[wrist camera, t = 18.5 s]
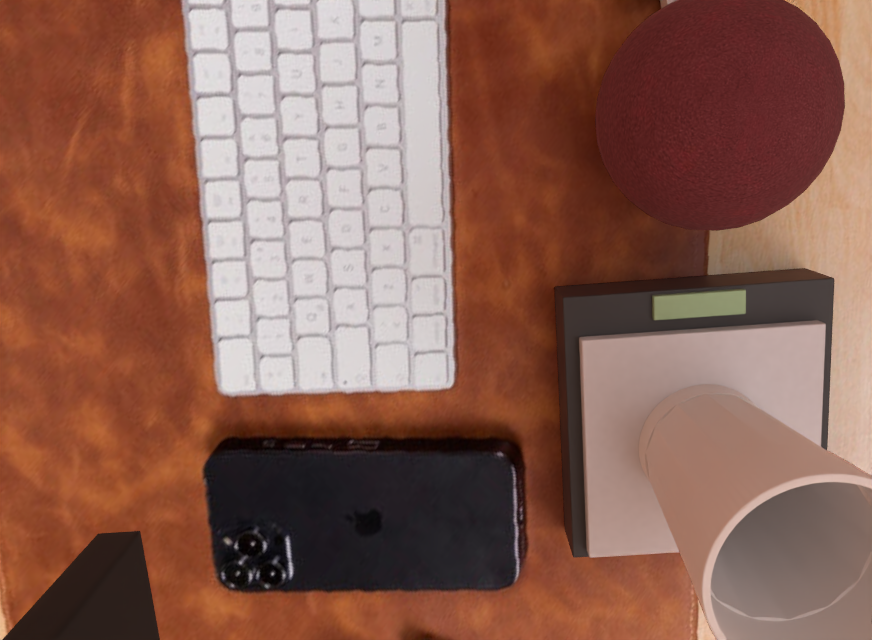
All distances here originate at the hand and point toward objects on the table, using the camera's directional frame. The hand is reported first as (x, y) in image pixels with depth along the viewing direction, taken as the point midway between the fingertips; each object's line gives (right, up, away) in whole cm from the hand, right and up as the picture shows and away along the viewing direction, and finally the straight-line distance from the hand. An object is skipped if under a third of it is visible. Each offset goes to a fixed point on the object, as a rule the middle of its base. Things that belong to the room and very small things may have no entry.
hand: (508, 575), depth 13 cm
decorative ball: (+11, +15, +24) cm, 30 cm away
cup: (+12, -2, +24) cm, 27 cm away
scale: (+12, 0, +27) cm, 30 cm away
